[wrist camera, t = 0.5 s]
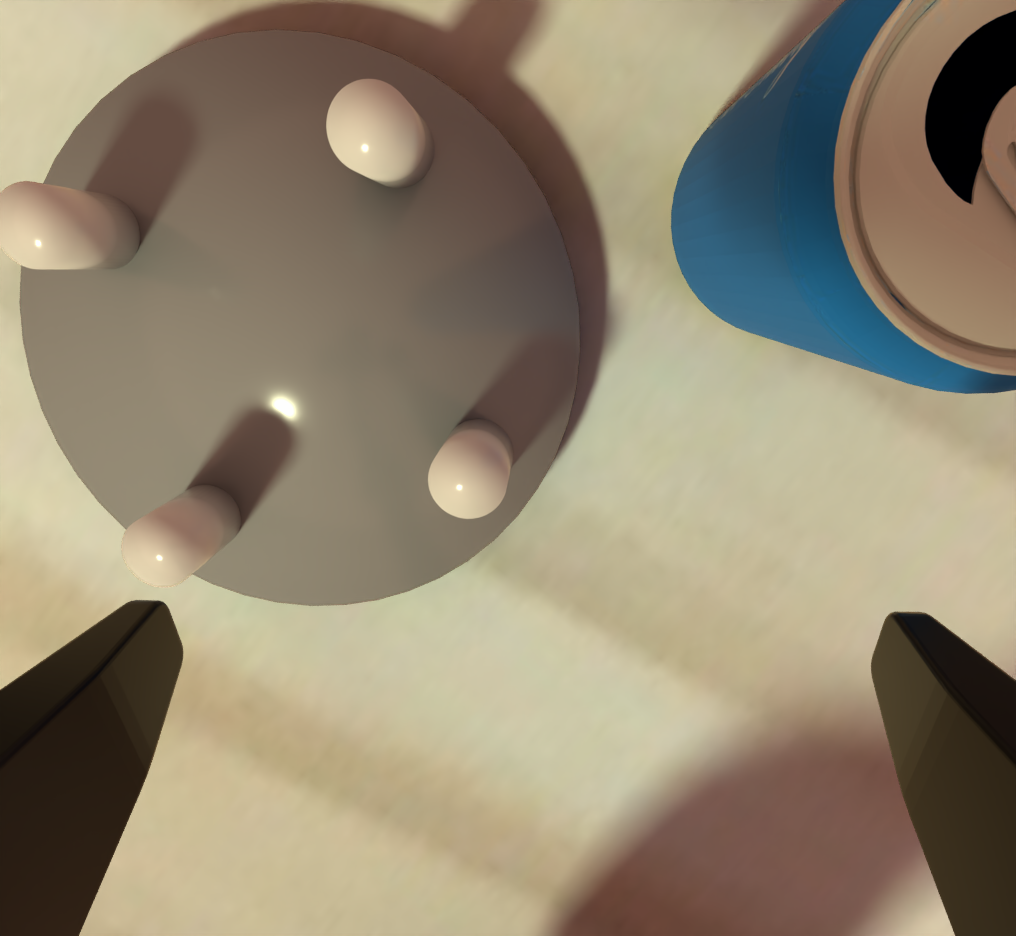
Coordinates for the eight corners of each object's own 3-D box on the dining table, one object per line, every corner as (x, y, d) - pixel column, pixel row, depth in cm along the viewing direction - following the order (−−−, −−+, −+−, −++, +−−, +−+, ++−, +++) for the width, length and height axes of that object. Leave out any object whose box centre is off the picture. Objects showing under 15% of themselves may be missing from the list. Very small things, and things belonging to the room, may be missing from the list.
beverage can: (806, 32, 20) (1163, -302, 8) (954, 221, 21) (1461, 161, 9) (618, 212, 21) (698, 142, 10) (765, 381, 22) (998, 504, 11)
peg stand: (630, 531, 24) (646, 585, 19) (158, 633, 25) (83, 703, 21) (502, -34, 20) (489, -113, 16) (-39, 135, 22) (-176, 103, 18)
